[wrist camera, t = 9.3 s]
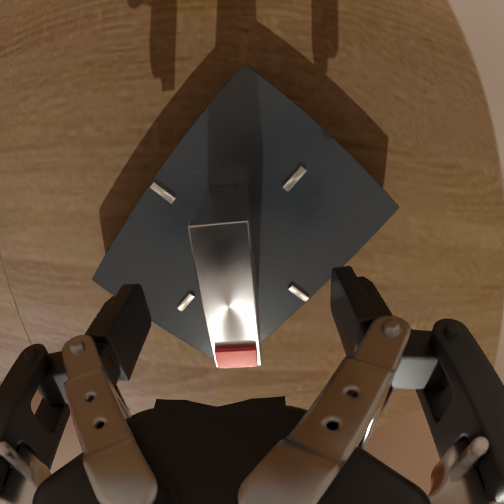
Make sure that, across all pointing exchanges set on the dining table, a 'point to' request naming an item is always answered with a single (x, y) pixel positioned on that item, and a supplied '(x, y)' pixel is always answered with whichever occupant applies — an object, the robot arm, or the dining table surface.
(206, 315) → the tap handle
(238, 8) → the dining table surface
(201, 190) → the base
